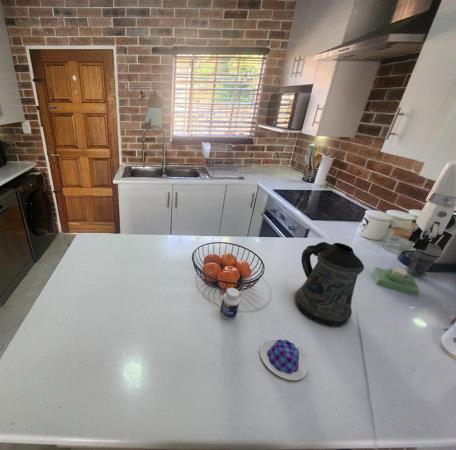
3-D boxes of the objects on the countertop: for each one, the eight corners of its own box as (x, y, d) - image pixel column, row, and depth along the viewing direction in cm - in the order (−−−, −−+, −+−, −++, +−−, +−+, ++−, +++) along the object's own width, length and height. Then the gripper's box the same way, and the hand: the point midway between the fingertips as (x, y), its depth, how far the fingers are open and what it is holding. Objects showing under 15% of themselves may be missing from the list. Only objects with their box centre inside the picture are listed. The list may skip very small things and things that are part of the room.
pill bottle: (218, 317, 82) (223, 294, 78) (221, 306, 86) (225, 284, 82) (235, 322, 80) (241, 299, 76) (236, 310, 85) (242, 288, 80)
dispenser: (408, 284, 101) (415, 273, 98) (414, 299, 93) (423, 287, 90) (371, 274, 106) (377, 262, 103) (374, 287, 98) (381, 275, 96)
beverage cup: (401, 267, 112) (424, 228, 103) (423, 273, 108) (449, 233, 99) (404, 275, 106) (428, 234, 97) (427, 282, 103) (455, 240, 94)
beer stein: (343, 337, 77) (378, 272, 65) (278, 304, 88) (299, 244, 77) (351, 308, 88) (382, 248, 76) (292, 283, 99) (312, 227, 88)
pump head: (403, 274, 98) (406, 270, 97) (406, 279, 95) (408, 275, 94) (390, 270, 99) (393, 266, 99) (392, 275, 96) (395, 271, 95)
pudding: (313, 386, 63) (320, 373, 60) (264, 377, 64) (269, 364, 62) (297, 345, 73) (303, 333, 71) (255, 338, 75) (259, 326, 73)
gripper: (470, 209, 74) (437, 259, 82) (449, 194, 87) (422, 238, 96) (436, 204, 78) (408, 252, 86) (420, 190, 91) (397, 233, 99)
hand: (416, 244), depth 91 cm, fingers open, 5 cm apart
